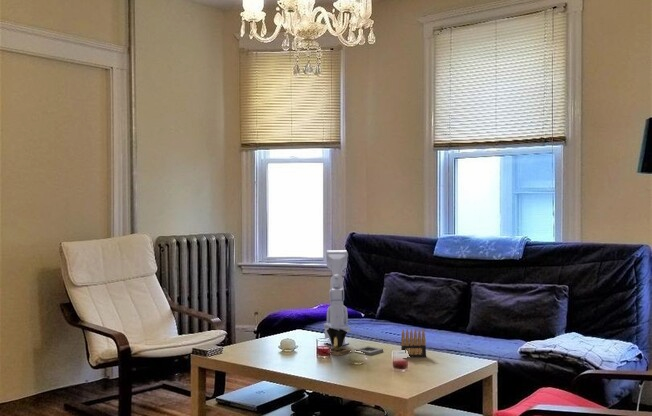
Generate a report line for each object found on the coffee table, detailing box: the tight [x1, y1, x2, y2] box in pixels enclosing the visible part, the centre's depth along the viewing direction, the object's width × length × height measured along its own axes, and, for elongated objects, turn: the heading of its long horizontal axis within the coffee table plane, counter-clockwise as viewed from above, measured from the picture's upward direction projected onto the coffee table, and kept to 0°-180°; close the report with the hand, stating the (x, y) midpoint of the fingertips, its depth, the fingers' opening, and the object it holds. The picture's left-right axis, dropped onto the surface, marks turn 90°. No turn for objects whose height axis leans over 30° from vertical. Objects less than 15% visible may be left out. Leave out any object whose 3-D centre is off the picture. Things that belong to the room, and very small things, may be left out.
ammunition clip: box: [400, 328, 427, 358], centre depth 282 cm, size 11×2×12 cm, turn 91°
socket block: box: [354, 345, 384, 356], centre depth 291 cm, size 9×9×1 cm
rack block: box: [330, 346, 352, 357], centre depth 291 cm, size 9×9×1 cm
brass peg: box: [333, 336, 342, 352], centre depth 291 cm, size 3×3×6 cm
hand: (337, 345), depth 291 cm, fingers closed on brass peg, 3 cm apart
